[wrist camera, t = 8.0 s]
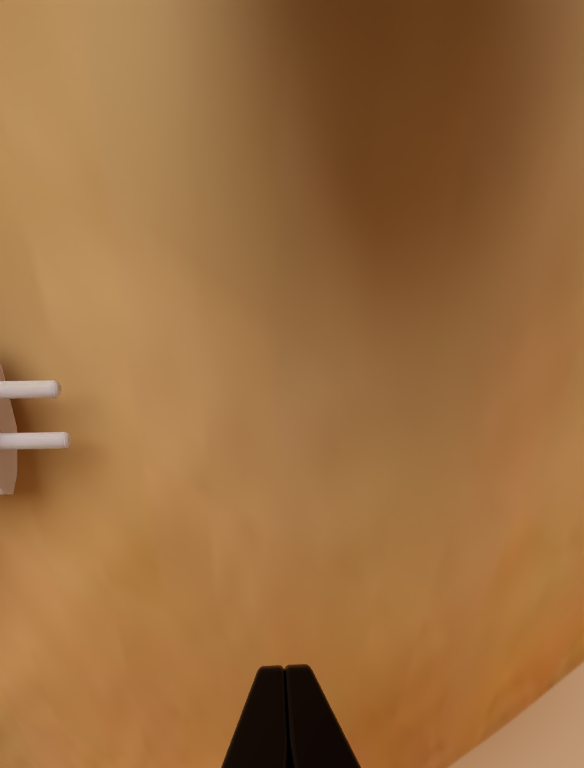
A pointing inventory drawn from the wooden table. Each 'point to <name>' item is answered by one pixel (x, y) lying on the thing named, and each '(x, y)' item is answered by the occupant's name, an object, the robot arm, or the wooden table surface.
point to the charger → (5, 440)
